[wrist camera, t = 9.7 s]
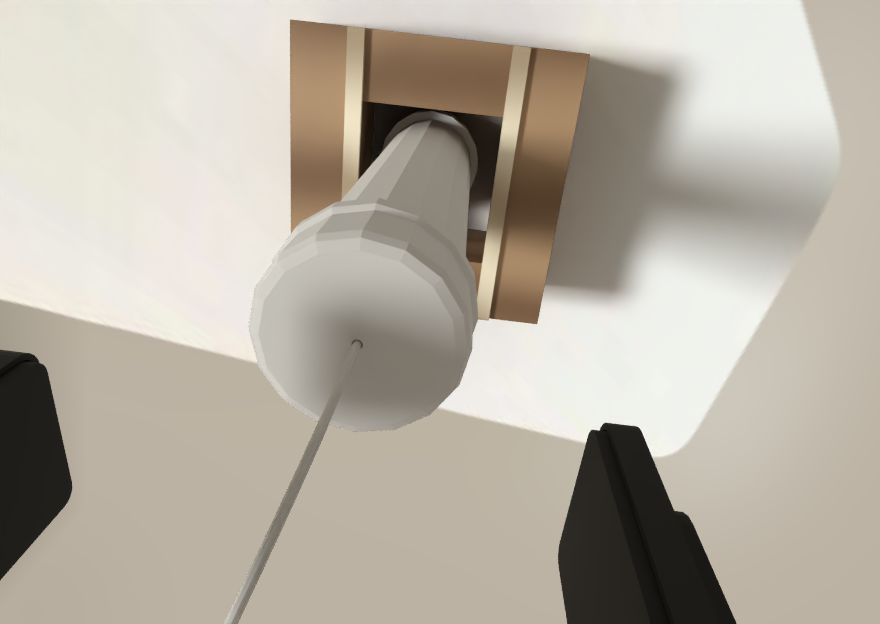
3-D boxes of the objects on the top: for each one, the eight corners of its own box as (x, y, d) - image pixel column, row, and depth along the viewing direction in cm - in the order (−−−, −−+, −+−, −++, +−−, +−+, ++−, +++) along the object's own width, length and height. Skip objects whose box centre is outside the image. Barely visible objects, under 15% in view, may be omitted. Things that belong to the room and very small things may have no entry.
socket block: (321, 23, 33) (288, 19, 27) (571, 52, 32) (591, 54, 27) (317, 258, 39) (289, 296, 33) (528, 283, 38) (537, 326, 33)
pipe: (495, 134, 35) (557, 483, 7) (446, 224, 37) (359, 732, 10) (411, 88, 34) (138, 290, 7) (367, 184, 36) (37, 615, 9)
